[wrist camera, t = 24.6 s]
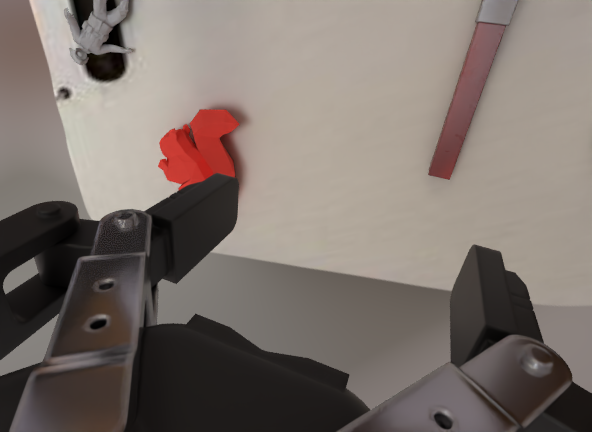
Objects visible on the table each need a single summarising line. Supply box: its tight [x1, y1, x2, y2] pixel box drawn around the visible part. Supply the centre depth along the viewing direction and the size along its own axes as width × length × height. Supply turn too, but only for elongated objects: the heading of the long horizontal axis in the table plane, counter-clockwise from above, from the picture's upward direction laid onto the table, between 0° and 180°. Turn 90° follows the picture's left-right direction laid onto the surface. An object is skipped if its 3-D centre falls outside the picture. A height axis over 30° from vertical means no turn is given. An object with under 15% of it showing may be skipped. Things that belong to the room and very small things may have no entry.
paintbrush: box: [428, 0, 518, 180], centre depth 33 cm, size 3×24×2 cm, turn 172°
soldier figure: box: [64, 0, 132, 65], centre depth 44 cm, size 8×5×12 cm
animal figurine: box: [158, 110, 240, 190], centre depth 47 cm, size 12×15×5 cm
